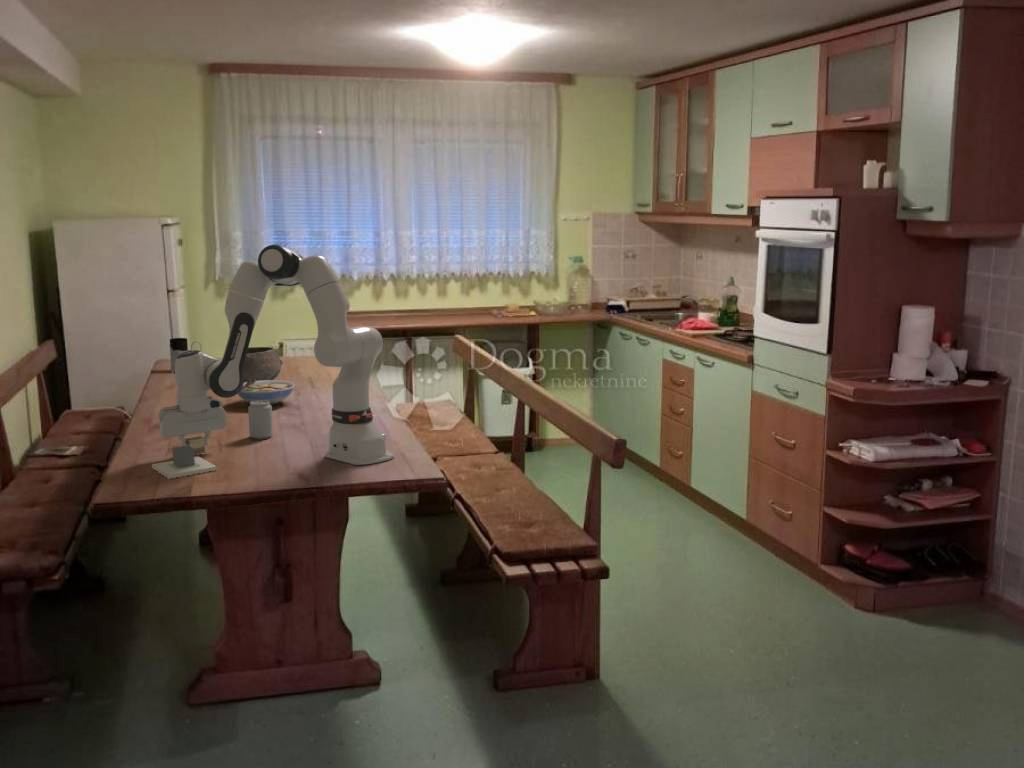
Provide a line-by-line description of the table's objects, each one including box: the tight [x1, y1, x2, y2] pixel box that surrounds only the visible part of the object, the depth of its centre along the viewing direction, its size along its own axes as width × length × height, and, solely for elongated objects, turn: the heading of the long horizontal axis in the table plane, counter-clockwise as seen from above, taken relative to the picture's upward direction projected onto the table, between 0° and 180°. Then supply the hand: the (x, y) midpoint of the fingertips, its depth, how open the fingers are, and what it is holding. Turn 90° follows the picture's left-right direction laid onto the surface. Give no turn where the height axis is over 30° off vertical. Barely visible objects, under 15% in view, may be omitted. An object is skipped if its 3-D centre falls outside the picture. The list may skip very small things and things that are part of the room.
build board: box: [151, 455, 218, 480], centre depth 279 cm, size 14×14×1 cm
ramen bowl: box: [237, 377, 295, 406], centre depth 366 cm, size 25×23×8 cm
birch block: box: [183, 435, 206, 456], centre depth 295 cm, size 5×5×5 cm
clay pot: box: [243, 346, 284, 383], centre depth 406 cm, size 21×21×15 cm
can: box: [247, 400, 274, 440], centre depth 315 cm, size 8×8×12 cm
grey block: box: [171, 445, 195, 468], centre depth 278 cm, size 5×5×5 cm
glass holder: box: [169, 337, 203, 373], centre depth 434 cm, size 9×14×15 cm, turn 100°
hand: (194, 447), depth 295 cm, fingers closed on birch block, 5 cm apart
